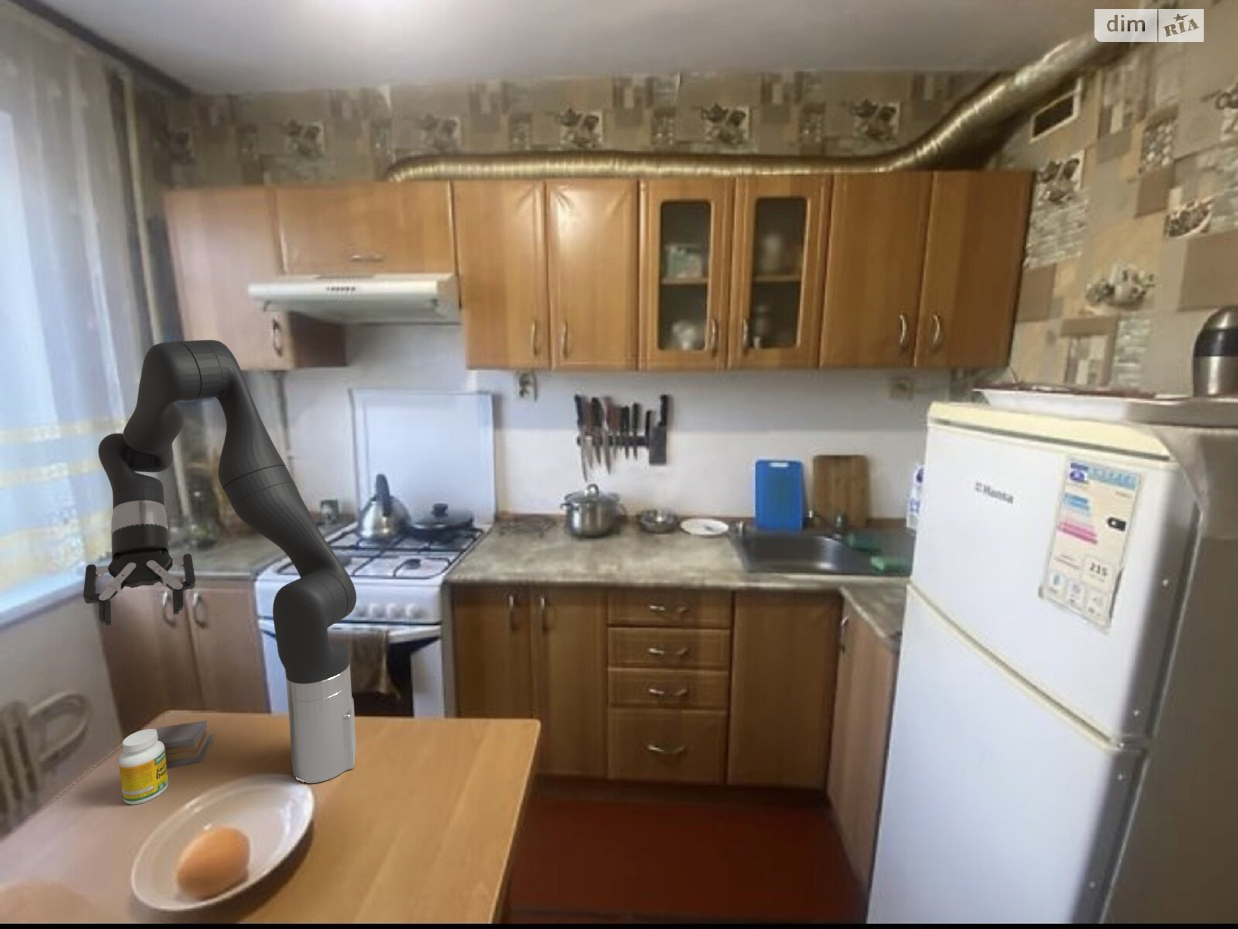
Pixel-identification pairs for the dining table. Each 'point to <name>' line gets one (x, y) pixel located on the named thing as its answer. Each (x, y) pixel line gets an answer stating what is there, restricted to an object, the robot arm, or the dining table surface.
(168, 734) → the offcut stack
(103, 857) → the dining table surface
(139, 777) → the supplement bottle
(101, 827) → the dining table surface
